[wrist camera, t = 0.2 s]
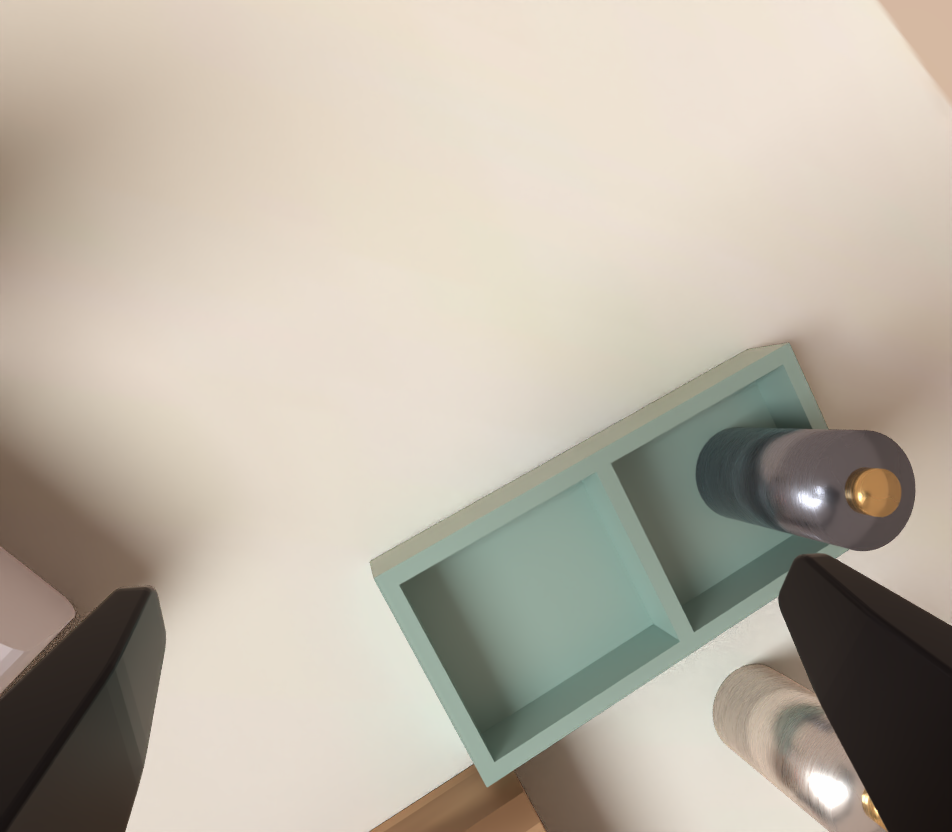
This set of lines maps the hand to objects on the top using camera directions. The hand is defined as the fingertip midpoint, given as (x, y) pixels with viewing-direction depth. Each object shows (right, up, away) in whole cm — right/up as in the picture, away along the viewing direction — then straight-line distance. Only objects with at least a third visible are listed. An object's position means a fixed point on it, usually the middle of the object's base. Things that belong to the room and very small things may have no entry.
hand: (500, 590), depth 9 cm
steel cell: (+11, -9, +18) cm, 23 cm away
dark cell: (+10, 0, +17) cm, 19 cm away
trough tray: (+5, -2, +16) cm, 17 cm away
